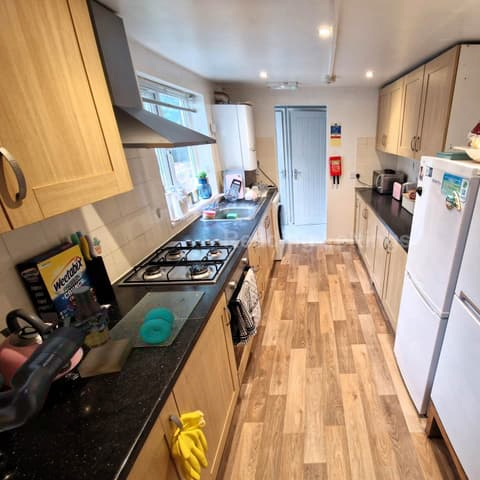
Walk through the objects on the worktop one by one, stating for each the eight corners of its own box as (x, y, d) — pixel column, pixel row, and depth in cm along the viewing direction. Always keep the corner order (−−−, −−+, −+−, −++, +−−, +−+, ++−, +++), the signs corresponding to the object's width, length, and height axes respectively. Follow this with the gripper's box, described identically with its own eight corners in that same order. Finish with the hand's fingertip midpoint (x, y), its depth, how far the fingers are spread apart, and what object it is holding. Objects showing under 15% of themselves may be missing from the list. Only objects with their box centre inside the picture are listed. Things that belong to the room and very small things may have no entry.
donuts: (176, 324, 108) (172, 304, 104) (172, 341, 99) (167, 320, 96) (148, 329, 105) (143, 309, 101) (142, 347, 96) (135, 325, 92)
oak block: (81, 377, 84) (77, 368, 83) (98, 352, 94) (94, 343, 92) (121, 370, 87) (117, 361, 85) (133, 346, 97) (130, 338, 95)
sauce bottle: (90, 338, 85) (72, 285, 78) (113, 334, 88) (98, 281, 81) (82, 352, 80) (62, 296, 73) (107, 347, 82) (90, 292, 75)
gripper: (87, 333, 67) (115, 297, 82) (16, 343, 63) (59, 303, 78) (95, 355, 70) (122, 316, 85) (28, 366, 66) (68, 324, 81)
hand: (92, 310), depth 81 cm, fingers closed on sauce bottle, 6 cm apart
